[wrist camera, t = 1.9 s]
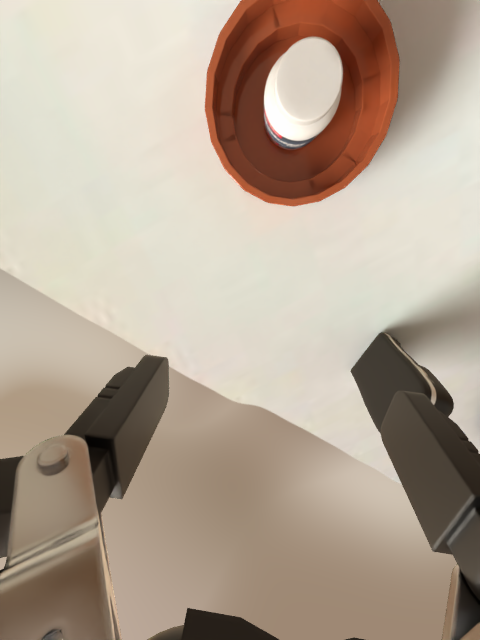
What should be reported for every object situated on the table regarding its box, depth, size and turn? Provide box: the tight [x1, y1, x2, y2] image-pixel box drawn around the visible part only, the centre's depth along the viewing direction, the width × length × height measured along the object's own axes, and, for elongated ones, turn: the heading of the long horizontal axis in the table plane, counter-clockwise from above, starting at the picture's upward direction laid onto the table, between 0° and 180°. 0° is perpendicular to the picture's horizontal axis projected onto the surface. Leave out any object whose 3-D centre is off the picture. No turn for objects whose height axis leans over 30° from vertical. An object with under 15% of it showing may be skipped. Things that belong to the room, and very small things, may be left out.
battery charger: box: [351, 333, 454, 433], centre depth 29 cm, size 7×4×11 cm, turn 157°
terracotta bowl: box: [205, 0, 400, 206], centre depth 23 cm, size 14×14×4 cm
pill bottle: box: [264, 37, 343, 150], centre depth 20 cm, size 5×5×9 cm
